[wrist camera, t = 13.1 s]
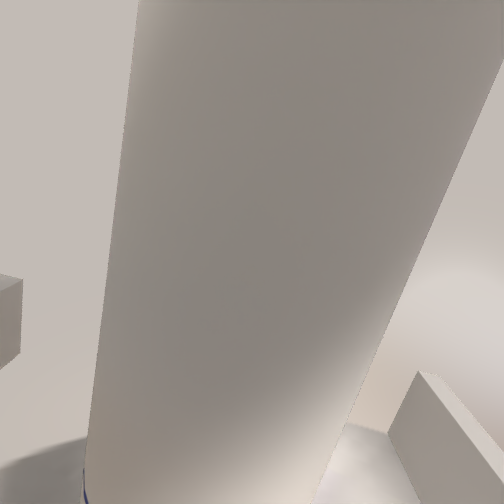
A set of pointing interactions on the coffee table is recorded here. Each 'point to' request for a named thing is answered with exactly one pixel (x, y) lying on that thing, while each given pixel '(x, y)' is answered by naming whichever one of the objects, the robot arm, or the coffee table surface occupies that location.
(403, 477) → the coffee table surface
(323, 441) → the cylindrical container
